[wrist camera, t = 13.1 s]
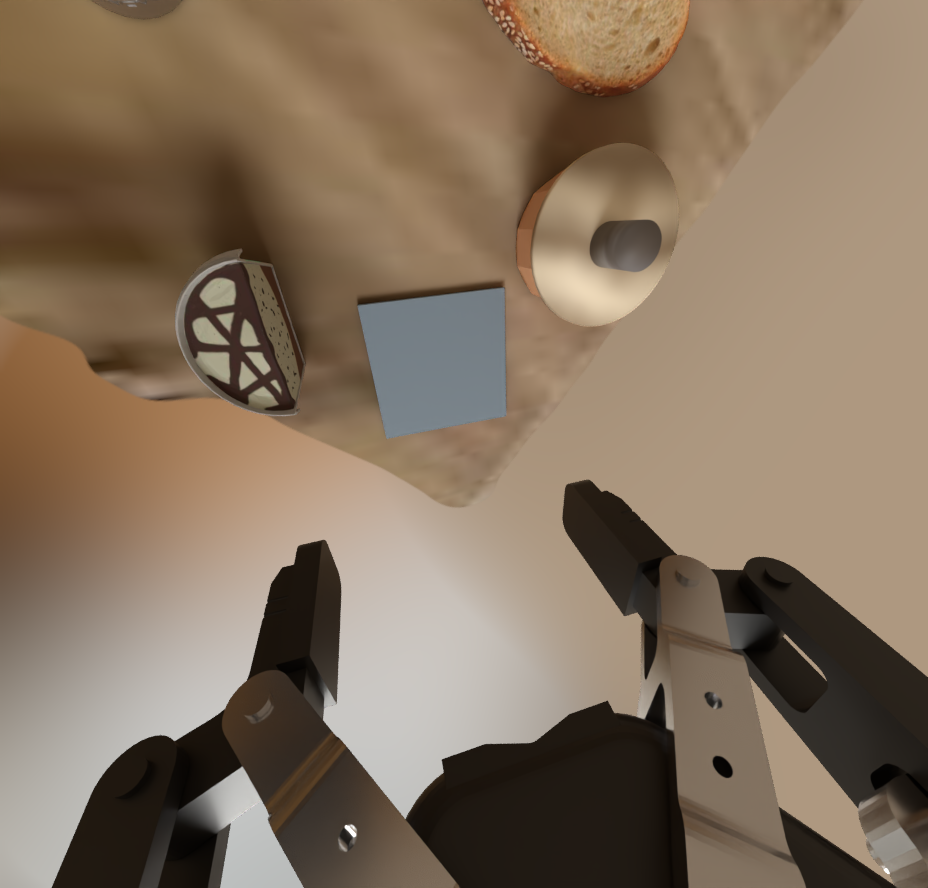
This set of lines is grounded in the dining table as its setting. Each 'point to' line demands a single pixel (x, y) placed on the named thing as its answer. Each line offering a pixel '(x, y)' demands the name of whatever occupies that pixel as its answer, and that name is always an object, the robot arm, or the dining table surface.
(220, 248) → the dining table surface
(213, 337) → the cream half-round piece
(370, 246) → the dining table surface
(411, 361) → the mat
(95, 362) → the dining table surface
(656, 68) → the bread slice
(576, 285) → the lid
